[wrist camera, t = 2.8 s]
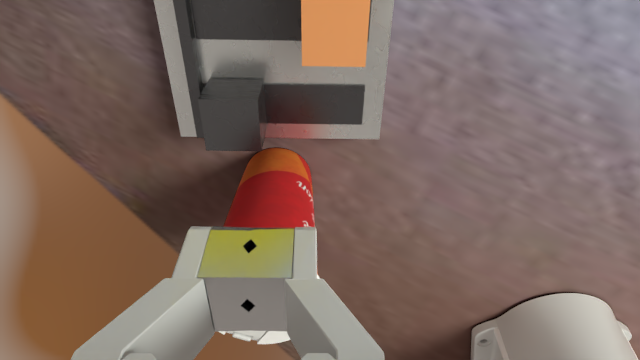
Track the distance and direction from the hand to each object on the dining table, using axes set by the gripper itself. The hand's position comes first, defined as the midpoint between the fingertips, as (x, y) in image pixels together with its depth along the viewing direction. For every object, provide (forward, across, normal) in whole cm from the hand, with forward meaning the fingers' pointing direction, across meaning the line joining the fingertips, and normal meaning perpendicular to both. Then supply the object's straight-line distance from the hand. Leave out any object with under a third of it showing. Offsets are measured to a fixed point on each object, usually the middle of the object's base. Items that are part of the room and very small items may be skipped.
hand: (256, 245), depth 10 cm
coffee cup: (+25, +2, +15) cm, 29 cm away
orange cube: (+22, -3, +1) cm, 22 cm away
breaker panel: (+24, +1, +4) cm, 25 cm away
